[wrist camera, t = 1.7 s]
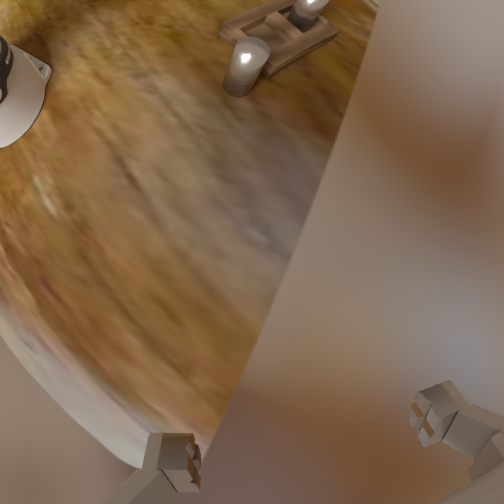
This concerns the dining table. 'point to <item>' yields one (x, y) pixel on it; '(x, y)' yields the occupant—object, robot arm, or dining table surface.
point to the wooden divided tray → (278, 33)
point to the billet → (245, 65)
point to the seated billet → (305, 13)
